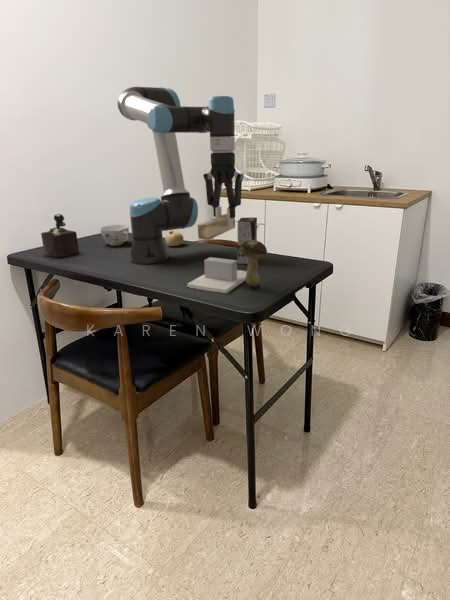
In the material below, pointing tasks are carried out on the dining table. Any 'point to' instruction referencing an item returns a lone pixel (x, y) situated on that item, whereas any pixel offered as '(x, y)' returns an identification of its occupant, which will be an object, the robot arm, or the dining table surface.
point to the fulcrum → (219, 276)
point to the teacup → (115, 234)
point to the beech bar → (213, 227)
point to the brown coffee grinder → (59, 240)
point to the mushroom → (253, 260)
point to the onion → (174, 238)
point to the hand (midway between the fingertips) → (224, 227)
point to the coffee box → (246, 235)
